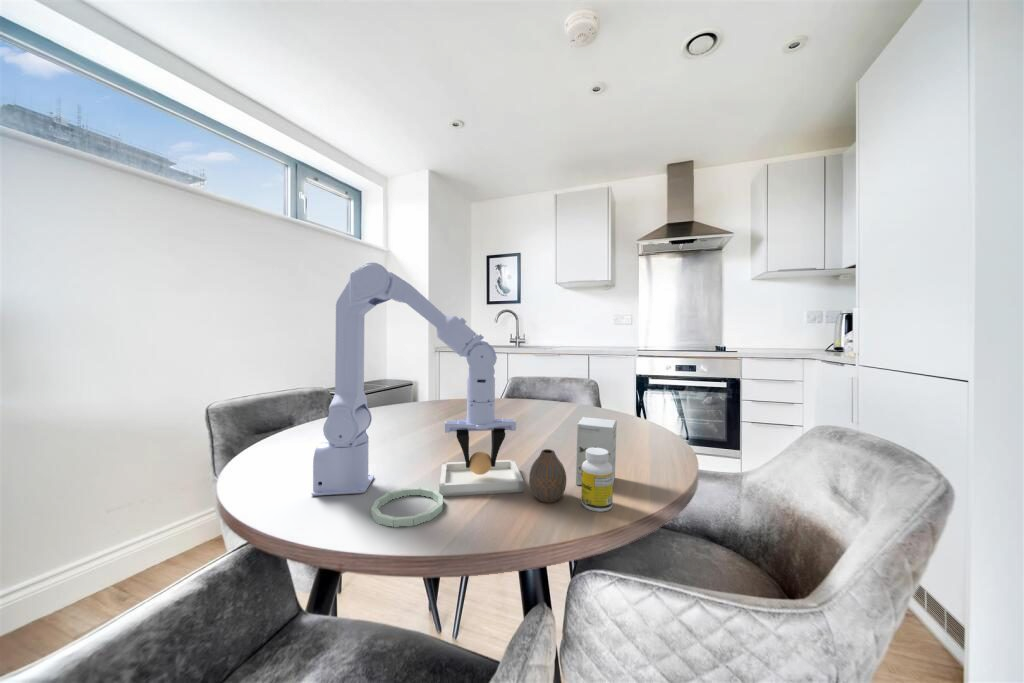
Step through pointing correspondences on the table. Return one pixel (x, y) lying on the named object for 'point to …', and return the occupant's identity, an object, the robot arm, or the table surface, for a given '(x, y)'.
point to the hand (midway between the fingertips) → (480, 465)
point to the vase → (547, 477)
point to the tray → (480, 479)
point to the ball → (480, 462)
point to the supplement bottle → (597, 480)
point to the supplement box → (595, 441)
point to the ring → (407, 520)
